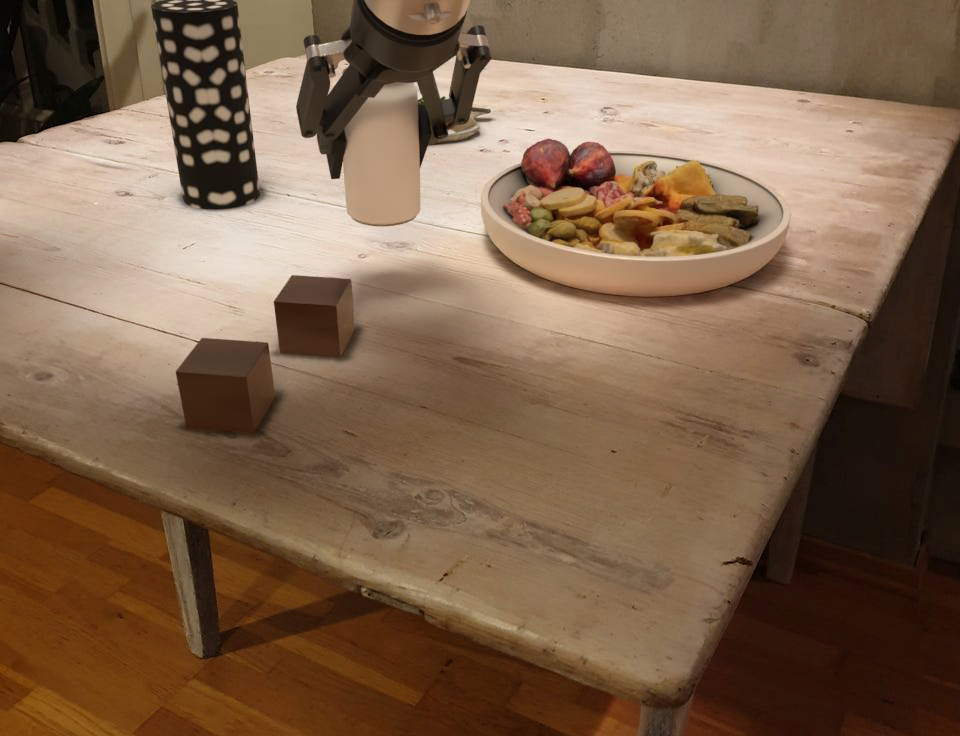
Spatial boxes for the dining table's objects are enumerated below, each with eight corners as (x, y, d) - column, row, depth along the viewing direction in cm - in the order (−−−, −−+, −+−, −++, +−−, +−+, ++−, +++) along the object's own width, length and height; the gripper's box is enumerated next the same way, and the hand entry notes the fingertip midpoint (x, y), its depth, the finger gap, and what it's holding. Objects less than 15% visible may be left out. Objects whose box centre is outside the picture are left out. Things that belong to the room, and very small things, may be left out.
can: (436, 214, 85) (433, 71, 78) (379, 234, 81) (372, 85, 74) (387, 196, 89) (381, 58, 82) (331, 213, 85) (320, 70, 78)
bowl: (838, 248, 98) (856, 172, 93) (657, 345, 80) (669, 257, 76) (608, 175, 115) (614, 108, 111) (419, 242, 98) (417, 165, 93)
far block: (297, 329, 82) (291, 274, 79) (355, 333, 81) (351, 278, 79) (280, 357, 78) (273, 301, 75) (340, 362, 77) (336, 305, 75)
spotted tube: (225, 218, 103) (196, 15, 91) (167, 203, 106) (132, 6, 95) (275, 195, 109) (254, 2, 97) (219, 182, 112) (193, -6, 101)
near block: (211, 396, 73) (201, 337, 70) (275, 401, 72) (268, 342, 70) (186, 432, 69) (175, 371, 66) (254, 438, 68) (246, 376, 65)
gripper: (275, 50, 60) (269, 211, 82) (563, 33, 65) (486, 189, 87) (254, -56, 62) (254, 131, 84) (539, -65, 67) (468, 114, 89)
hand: (372, 160), depth 85 cm, fingers closed on can, 6 cm apart
